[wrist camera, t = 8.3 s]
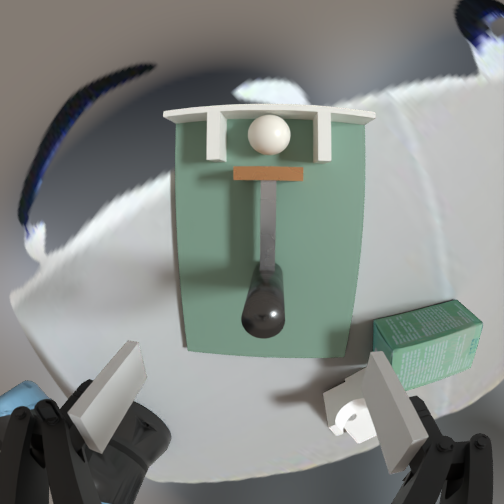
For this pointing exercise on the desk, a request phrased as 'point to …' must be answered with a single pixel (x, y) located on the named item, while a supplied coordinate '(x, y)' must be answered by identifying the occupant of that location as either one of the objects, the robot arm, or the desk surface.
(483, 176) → the desk surface
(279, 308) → the small squeegee
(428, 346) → the box
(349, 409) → the bracket
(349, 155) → the pitch
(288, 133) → the ball
